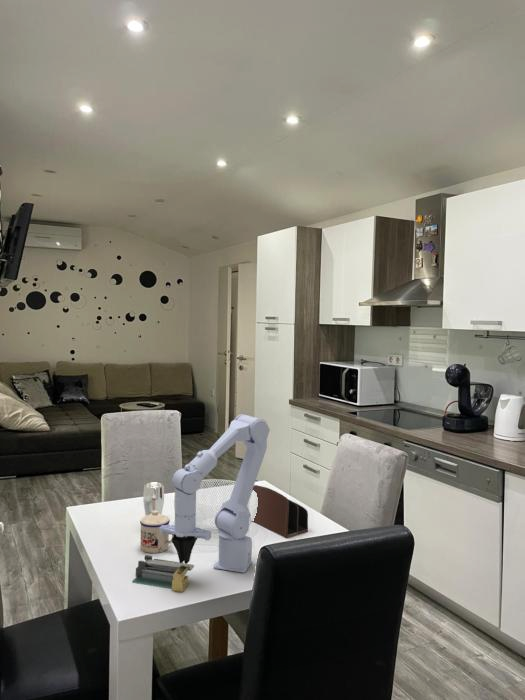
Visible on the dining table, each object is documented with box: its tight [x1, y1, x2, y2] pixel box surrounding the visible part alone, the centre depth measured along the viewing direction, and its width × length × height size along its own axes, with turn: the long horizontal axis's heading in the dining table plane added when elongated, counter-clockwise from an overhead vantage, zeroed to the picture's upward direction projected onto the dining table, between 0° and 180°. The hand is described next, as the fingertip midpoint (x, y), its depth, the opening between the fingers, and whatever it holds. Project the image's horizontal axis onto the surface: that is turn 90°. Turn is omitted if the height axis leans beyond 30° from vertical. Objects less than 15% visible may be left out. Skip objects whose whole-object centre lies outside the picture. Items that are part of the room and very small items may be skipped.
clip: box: [171, 566, 189, 593], centre depth 148 cm, size 3×5×5 cm, turn 165°
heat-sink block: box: [132, 558, 188, 590], centre depth 155 cm, size 12×11×3 cm
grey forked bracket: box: [135, 554, 153, 578], centre depth 156 cm, size 3×5×4 cm, turn 165°
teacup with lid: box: [139, 510, 173, 554], centre depth 173 cm, size 12×9×12 cm
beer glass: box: [142, 481, 165, 516], centre depth 190 cm, size 7×7×15 cm
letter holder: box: [252, 484, 309, 539], centre depth 195 cm, size 10×20×14 cm, turn 38°
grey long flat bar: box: [143, 558, 195, 572], centre depth 154 cm, size 15×2×1 cm, turn 75°
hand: (184, 561), depth 153 cm, fingers closed
